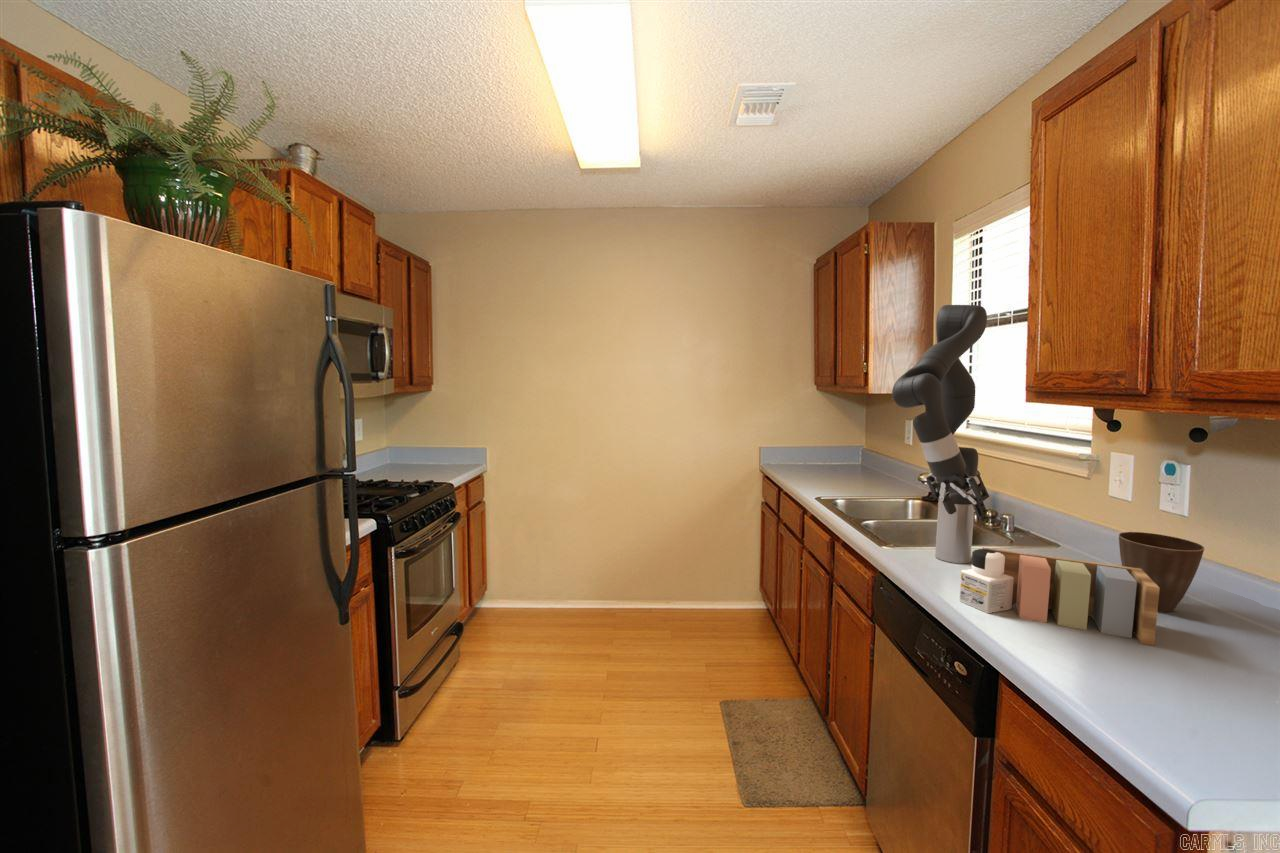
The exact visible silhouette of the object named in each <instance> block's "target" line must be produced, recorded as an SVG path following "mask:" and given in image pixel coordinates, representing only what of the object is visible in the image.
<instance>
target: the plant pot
mask: <svg viewBox="0 0 1280 853" xmlns="http://www.w3.org/2000/svg"><path fill="white" fill-rule="evenodd" d="M1118 543H1119V544H1118V545H1119V554H1120V561H1121V562H1120V563H1121V566H1125V567H1132V568H1140V569H1142V570H1143V571H1144V572H1145V573H1146V574H1147V575H1148V576H1149V577H1150V579H1151V580H1152V581H1153V582H1154V583H1155V584H1156V585H1157V586H1158V587H1159V588H1160V590H1159V600H1158V611H1157V613H1173V612H1174V611H1175V610H1176V609H1177V607H1178V606H1179V604H1180V602H1181V601H1182V600H1183V598H1184V596H1185V595H1186V594H1187V592H1188V589H1189V588H1190V586H1191V584H1192V582H1193V580H1194V578H1195V576H1196V573H1197V570H1198V568H1199V566H1200V563H1201V560H1202V558H1203V555H1204V551H1205V547H1204V546H1203V544H1200V543H1197V542H1195V541H1191V540H1189V539H1185V538H1180V537H1176V536H1170V535H1167V534H1166V535H1164V534H1157V533H1152V532H1139V531H1125V532H1120V533H1119V534H1118Z"/></svg>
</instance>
